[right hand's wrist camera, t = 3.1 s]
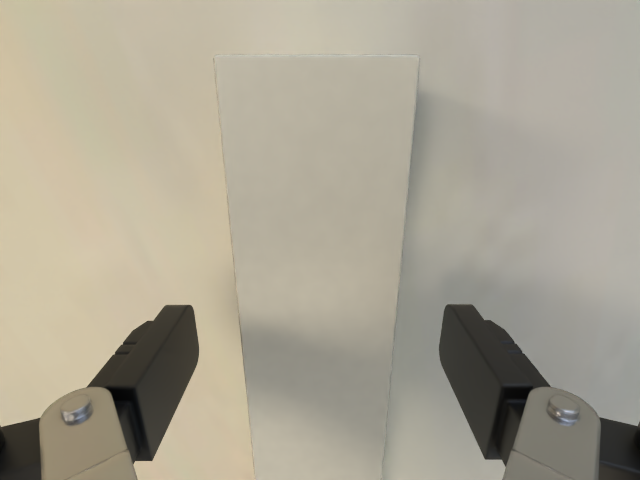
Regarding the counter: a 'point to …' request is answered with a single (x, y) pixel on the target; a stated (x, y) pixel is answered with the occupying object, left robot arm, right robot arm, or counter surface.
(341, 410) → the beam
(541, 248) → the counter surface
